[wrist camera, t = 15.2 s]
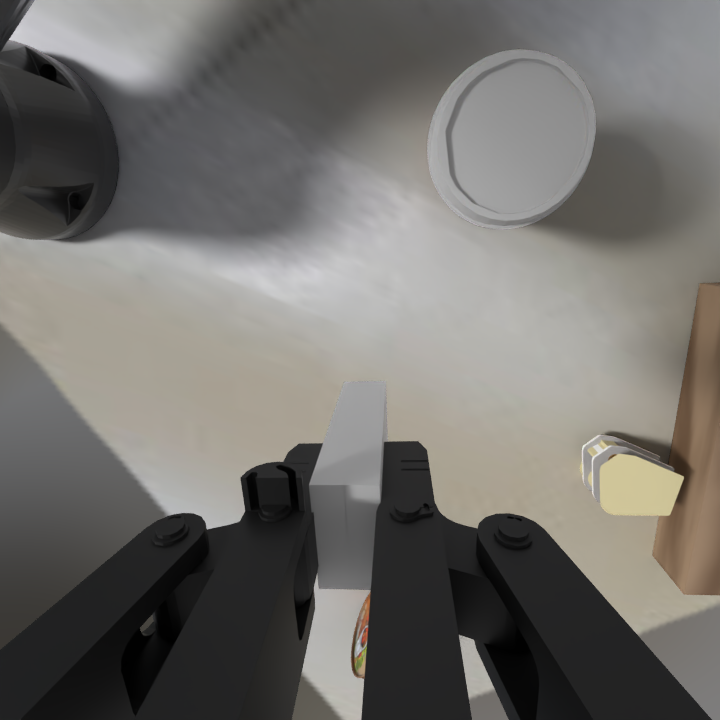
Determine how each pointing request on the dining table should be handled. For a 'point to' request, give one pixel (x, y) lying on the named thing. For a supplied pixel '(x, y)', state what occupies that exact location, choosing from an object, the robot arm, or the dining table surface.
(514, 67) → the disposable coffee cup
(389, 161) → the dining table surface
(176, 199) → the dining table surface
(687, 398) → the bar
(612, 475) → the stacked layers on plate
